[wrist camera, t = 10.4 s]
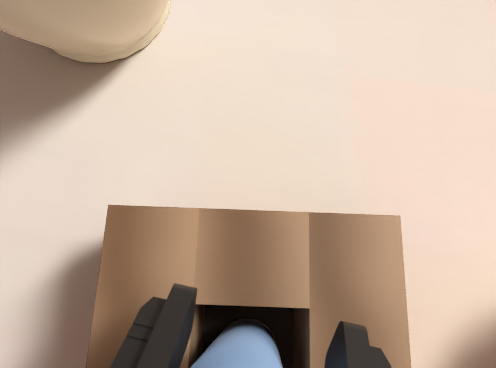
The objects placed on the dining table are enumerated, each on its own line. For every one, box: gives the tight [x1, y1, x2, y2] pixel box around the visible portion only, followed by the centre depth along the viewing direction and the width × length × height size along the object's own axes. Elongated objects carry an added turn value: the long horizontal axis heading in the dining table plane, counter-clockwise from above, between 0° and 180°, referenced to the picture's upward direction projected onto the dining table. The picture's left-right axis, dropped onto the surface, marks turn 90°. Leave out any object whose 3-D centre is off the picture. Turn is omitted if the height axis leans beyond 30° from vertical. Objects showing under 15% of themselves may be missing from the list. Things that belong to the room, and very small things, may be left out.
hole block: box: [86, 205, 411, 368], centre depth 16 cm, size 12×12×5 cm
